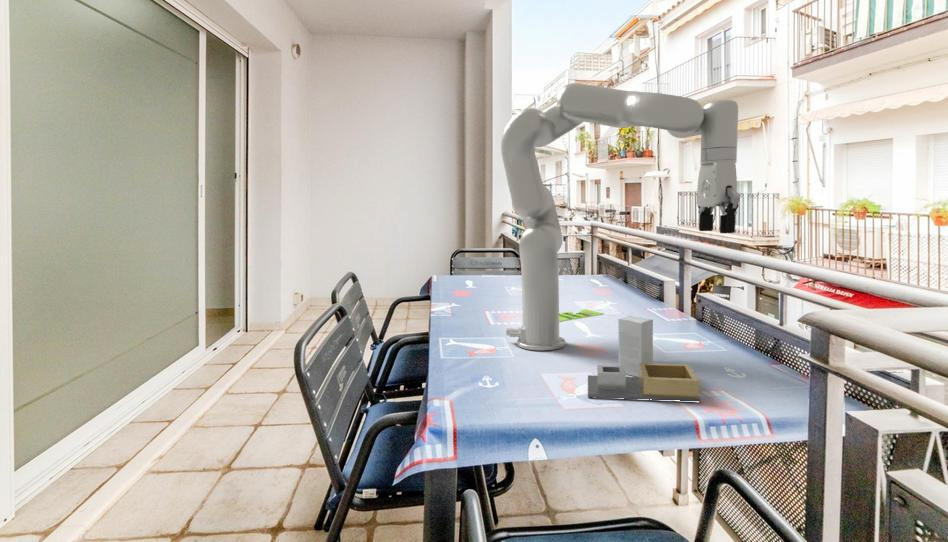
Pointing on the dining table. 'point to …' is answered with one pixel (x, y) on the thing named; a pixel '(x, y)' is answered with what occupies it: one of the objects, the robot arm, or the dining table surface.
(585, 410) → the dining table surface
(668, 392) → the plate
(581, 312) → the door hanger
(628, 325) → the skincare box
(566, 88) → the robot arm
